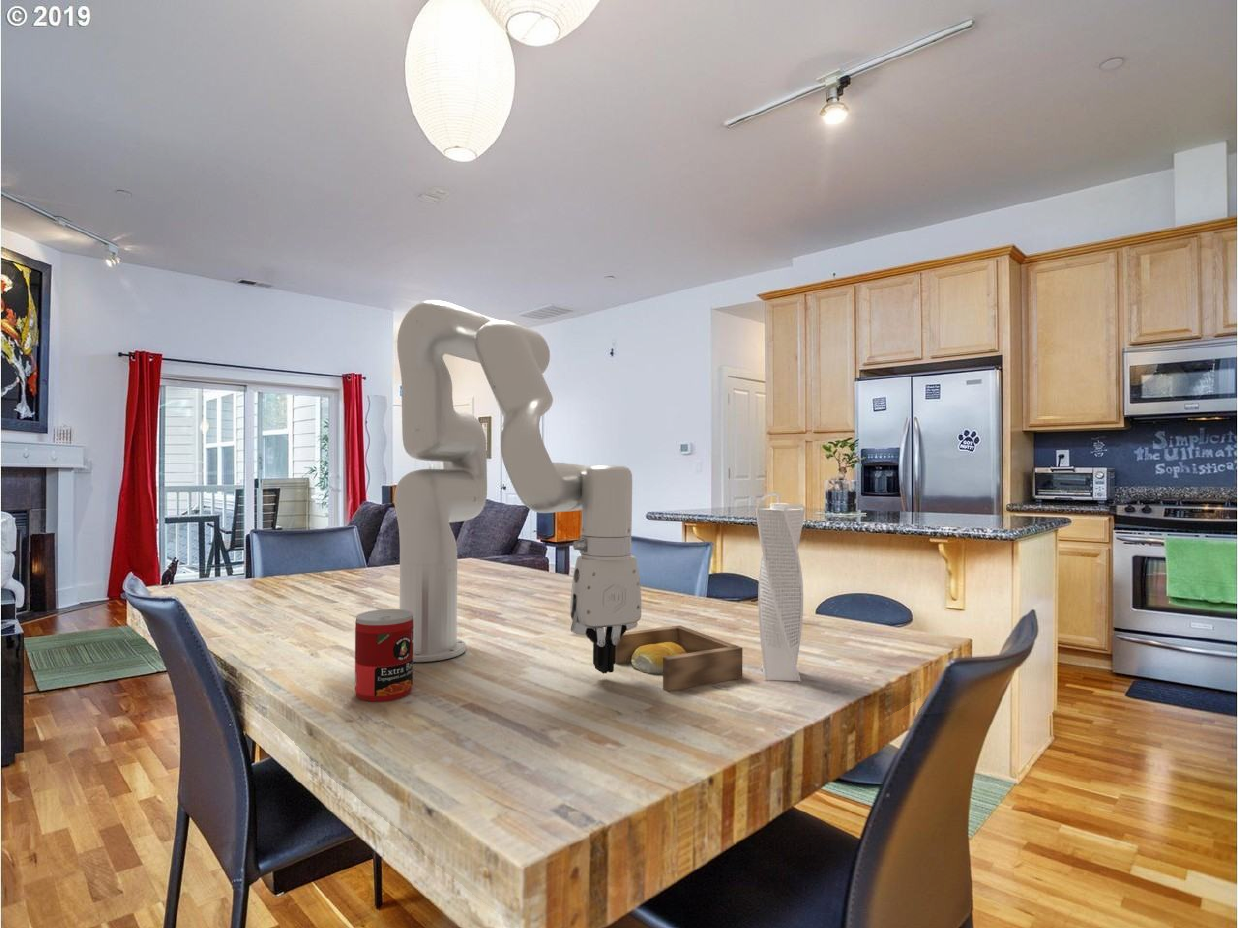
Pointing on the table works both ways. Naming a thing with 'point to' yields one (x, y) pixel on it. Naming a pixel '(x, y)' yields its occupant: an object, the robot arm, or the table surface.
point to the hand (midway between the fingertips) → (604, 670)
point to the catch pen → (686, 656)
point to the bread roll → (654, 656)
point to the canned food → (383, 654)
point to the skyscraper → (780, 588)
